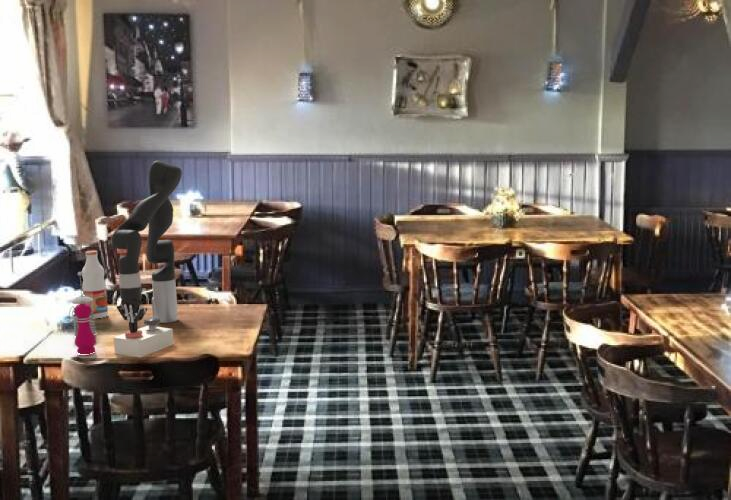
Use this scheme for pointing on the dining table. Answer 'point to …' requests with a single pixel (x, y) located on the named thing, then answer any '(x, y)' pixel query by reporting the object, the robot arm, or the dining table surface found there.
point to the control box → (144, 342)
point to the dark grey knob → (152, 323)
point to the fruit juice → (95, 285)
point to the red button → (133, 334)
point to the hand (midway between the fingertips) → (133, 332)
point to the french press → (76, 301)
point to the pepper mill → (84, 329)
